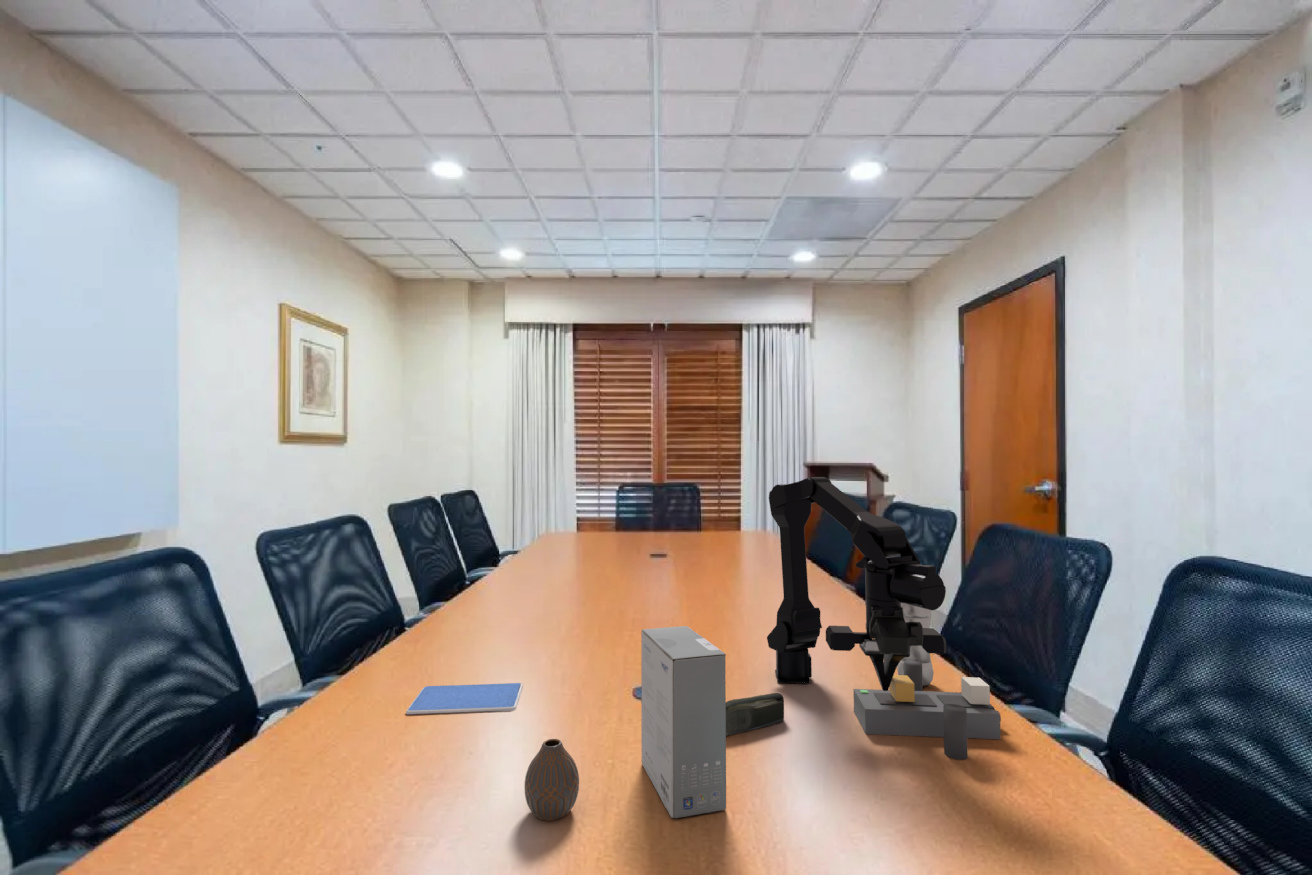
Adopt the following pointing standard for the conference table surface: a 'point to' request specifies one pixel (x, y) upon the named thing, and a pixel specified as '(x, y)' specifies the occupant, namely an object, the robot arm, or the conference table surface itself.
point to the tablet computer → (466, 698)
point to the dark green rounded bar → (754, 712)
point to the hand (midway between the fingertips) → (884, 690)
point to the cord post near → (955, 731)
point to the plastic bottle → (918, 652)
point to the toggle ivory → (975, 690)
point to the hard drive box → (684, 720)
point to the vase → (551, 782)
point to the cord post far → (914, 673)
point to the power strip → (921, 714)
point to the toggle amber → (902, 688)
